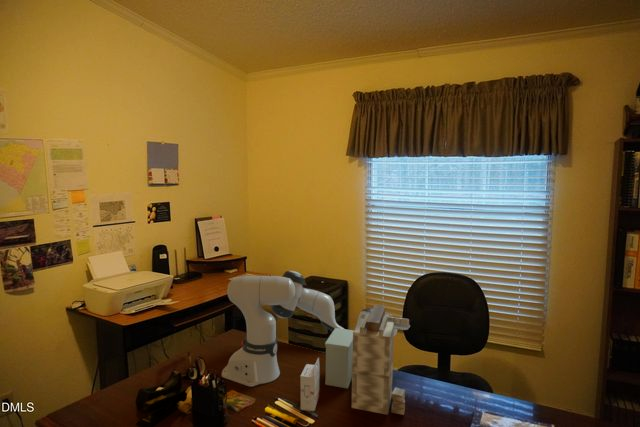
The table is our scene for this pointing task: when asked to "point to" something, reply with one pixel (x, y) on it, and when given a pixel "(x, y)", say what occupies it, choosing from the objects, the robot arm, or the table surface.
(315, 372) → the ink cartridge box
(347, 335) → the pale grey upright box
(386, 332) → the birch rack
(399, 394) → the offcut stack
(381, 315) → the walnut strip
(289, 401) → the table surface
